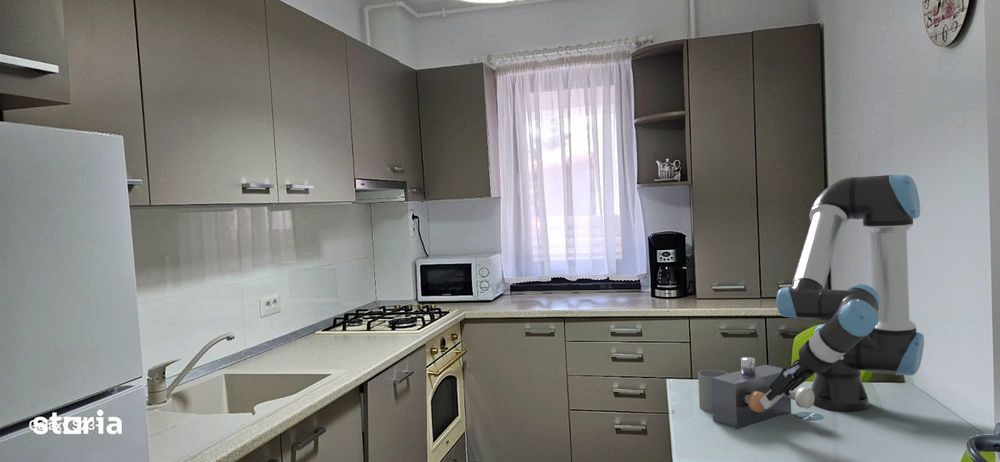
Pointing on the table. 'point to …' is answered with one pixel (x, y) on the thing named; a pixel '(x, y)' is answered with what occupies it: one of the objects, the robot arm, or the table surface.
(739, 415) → the grey puzzle box
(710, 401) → the cup
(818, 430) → the table surface
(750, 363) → the dial
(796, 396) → the knob
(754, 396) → the knob
